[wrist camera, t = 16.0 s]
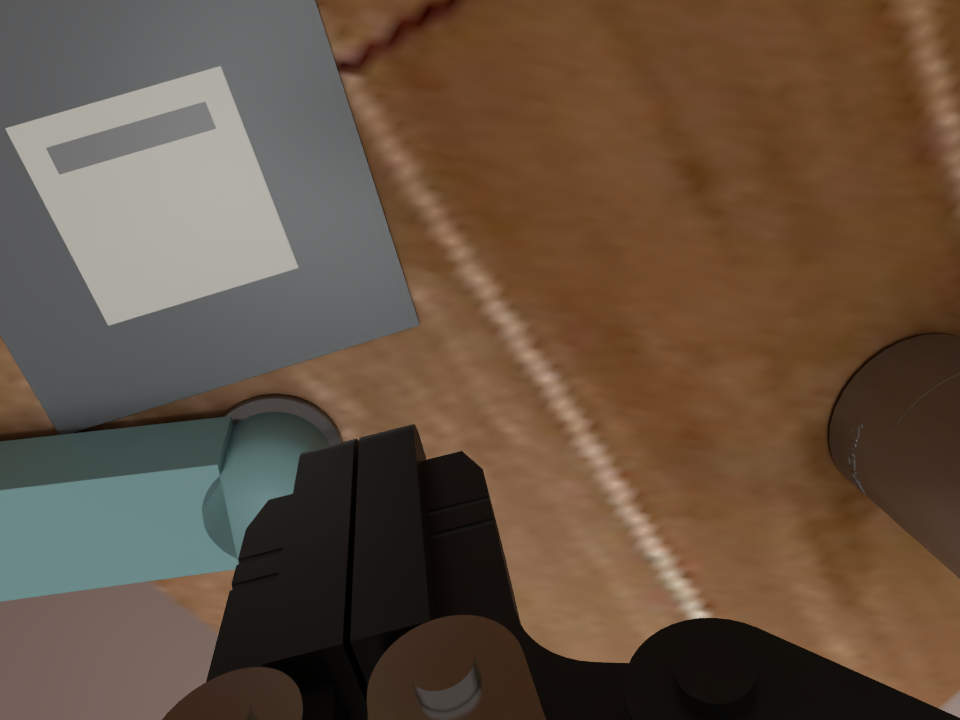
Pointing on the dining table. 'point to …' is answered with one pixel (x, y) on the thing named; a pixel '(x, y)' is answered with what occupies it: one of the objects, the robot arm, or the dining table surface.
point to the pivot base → (287, 406)
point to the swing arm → (140, 500)
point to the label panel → (180, 202)
